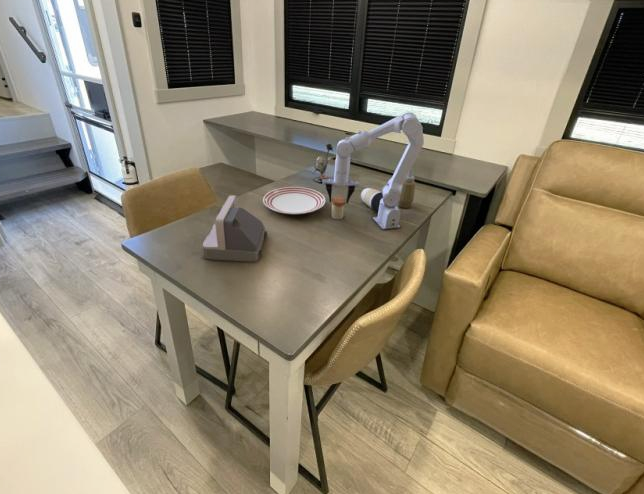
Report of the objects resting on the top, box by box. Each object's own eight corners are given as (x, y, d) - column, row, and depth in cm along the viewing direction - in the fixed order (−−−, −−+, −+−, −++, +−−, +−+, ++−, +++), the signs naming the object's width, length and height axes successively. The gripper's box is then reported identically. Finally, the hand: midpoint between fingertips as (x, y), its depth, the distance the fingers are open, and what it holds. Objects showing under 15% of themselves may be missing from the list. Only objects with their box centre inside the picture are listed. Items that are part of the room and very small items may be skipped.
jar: (345, 218, 138) (346, 203, 135) (333, 219, 137) (335, 204, 133) (340, 213, 143) (342, 197, 139) (329, 214, 141) (330, 198, 138)
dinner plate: (252, 213, 137) (252, 206, 135) (276, 188, 161) (276, 182, 159) (316, 224, 132) (316, 217, 131) (330, 197, 156) (331, 191, 154)
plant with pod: (319, 175, 180) (321, 138, 170) (334, 181, 173) (338, 144, 163) (308, 178, 175) (310, 141, 165) (324, 185, 168) (326, 146, 158)
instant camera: (222, 226, 127) (218, 190, 119) (274, 233, 124) (274, 197, 117) (195, 257, 108) (189, 217, 101) (255, 267, 106) (254, 227, 99)
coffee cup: (372, 206, 155) (387, 216, 141) (355, 201, 151) (370, 211, 138) (379, 188, 153) (395, 196, 139) (362, 183, 149) (378, 191, 136)
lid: (347, 205, 135) (347, 202, 134) (334, 207, 133) (334, 203, 133) (342, 199, 140) (342, 196, 139) (329, 200, 138) (330, 197, 137)
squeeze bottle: (410, 202, 157) (418, 166, 148) (413, 210, 150) (421, 172, 141) (393, 200, 157) (400, 164, 148) (395, 208, 150) (402, 171, 141)
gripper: (359, 168, 133) (355, 198, 140) (323, 166, 133) (321, 196, 140) (360, 175, 127) (356, 206, 134) (323, 172, 127) (321, 203, 134)
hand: (338, 201), depth 136 cm, fingers open, 6 cm apart
